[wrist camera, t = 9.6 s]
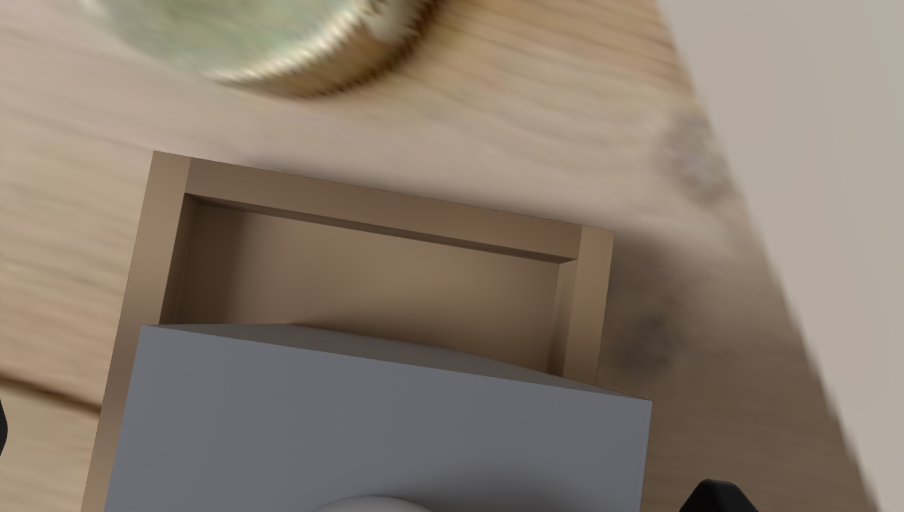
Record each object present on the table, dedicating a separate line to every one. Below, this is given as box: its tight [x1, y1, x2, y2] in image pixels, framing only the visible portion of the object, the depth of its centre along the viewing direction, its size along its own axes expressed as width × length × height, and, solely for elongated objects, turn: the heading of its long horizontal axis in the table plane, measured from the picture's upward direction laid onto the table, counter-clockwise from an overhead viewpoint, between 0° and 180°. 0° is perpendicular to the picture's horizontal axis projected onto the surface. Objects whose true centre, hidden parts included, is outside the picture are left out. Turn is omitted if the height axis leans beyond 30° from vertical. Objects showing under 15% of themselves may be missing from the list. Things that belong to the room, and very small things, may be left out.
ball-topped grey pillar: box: [104, 324, 653, 512], centre depth 11 cm, size 4×4×13 cm
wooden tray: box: [81, 151, 615, 512], centre depth 17 cm, size 11×11×2 cm
